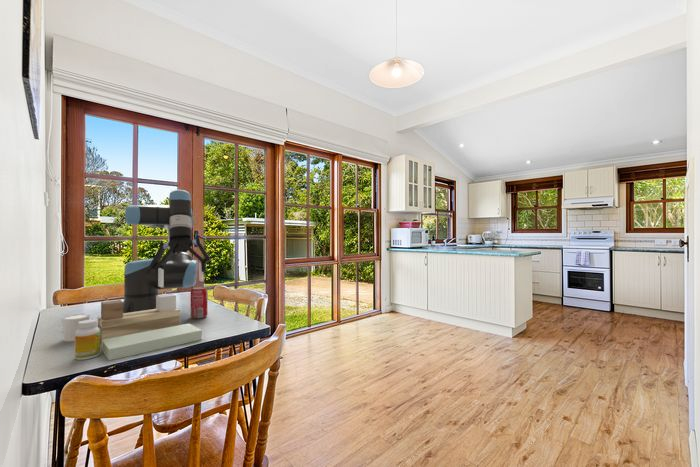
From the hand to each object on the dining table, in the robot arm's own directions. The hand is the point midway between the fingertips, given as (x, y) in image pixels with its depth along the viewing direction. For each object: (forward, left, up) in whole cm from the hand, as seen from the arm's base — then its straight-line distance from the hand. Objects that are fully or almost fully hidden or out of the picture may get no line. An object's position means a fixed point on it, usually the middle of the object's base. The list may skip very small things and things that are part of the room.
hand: (181, 284), depth 115 cm
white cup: (-12, -28, -16) cm, 34 cm away
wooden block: (-3, -12, -16) cm, 20 cm away
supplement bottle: (+11, -27, -16) cm, 33 cm away
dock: (+13, -12, -16) cm, 23 cm away
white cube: (-3, -4, -9) cm, 10 cm away
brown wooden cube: (-3, -20, -9) cm, 22 cm away
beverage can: (-11, +10, -16) cm, 22 cm away
